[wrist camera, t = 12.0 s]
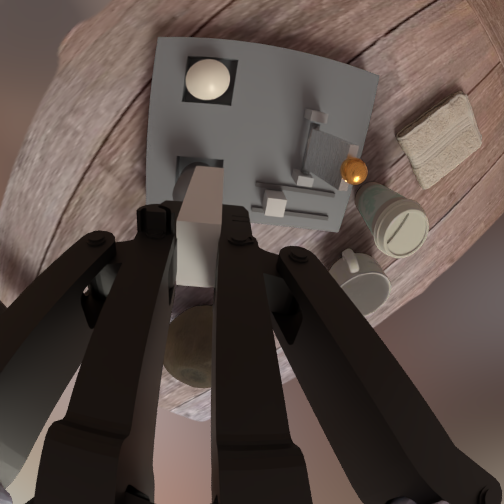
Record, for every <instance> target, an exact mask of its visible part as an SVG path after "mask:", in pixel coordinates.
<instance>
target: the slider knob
mask: <svg viewBox="0 0 504 504" xmlns="http://www.w3.org/2000/svg"><path fill="white" fill-rule="evenodd" d="M286 203H287V199H286V197H285V195H284V193H283V191H275V190H268V189H265V193H264V198H263V204H262V207H263V211H264V215H266V216H275V217H283V216H284V212H285V207H286Z"/></svg>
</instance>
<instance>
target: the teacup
mask: <svg viewBox="0 0 504 504" xmlns="http://www.w3.org/2000/svg"><path fill="white" fill-rule="evenodd" d="M342 255H343V257H342V258H341V259H339V260H338V261H337V262H336V263H334V264H333V266H332V267H331V269H330V270H329V273H330V274H331V275H332V277H333V278H334V279H335V280H336V282H337V283H338V284H339V285H340V287H341V288H342V289H343V290H344V292H345V293H346V294H347V295H348V297H349V298H350V299H351V301H352V302H353V303H354V304H355V306H356V307H357V308H358V310H359V311H360V312H361V313H362V315H363V316H364V317H365V316H367V315H369V314H371V313H373V312H375V311H376V310H378V309H379V308H380V307H381V306H382V305H383V304H384V303H385V302H386V300H387V299H388V297H389V295H390V292H391V282H390V280H389V279H388V277H387V276H386V275H385V273H384V271H383V270H382V268H381V266H380V265H379V264H378V262H377V261H376V260H375V259H374V258H372V257H371V256H369V255H367V254H363V253H354V252H353V251H352V250H351V249H346V250H344V251H343V252H342Z"/></svg>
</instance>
